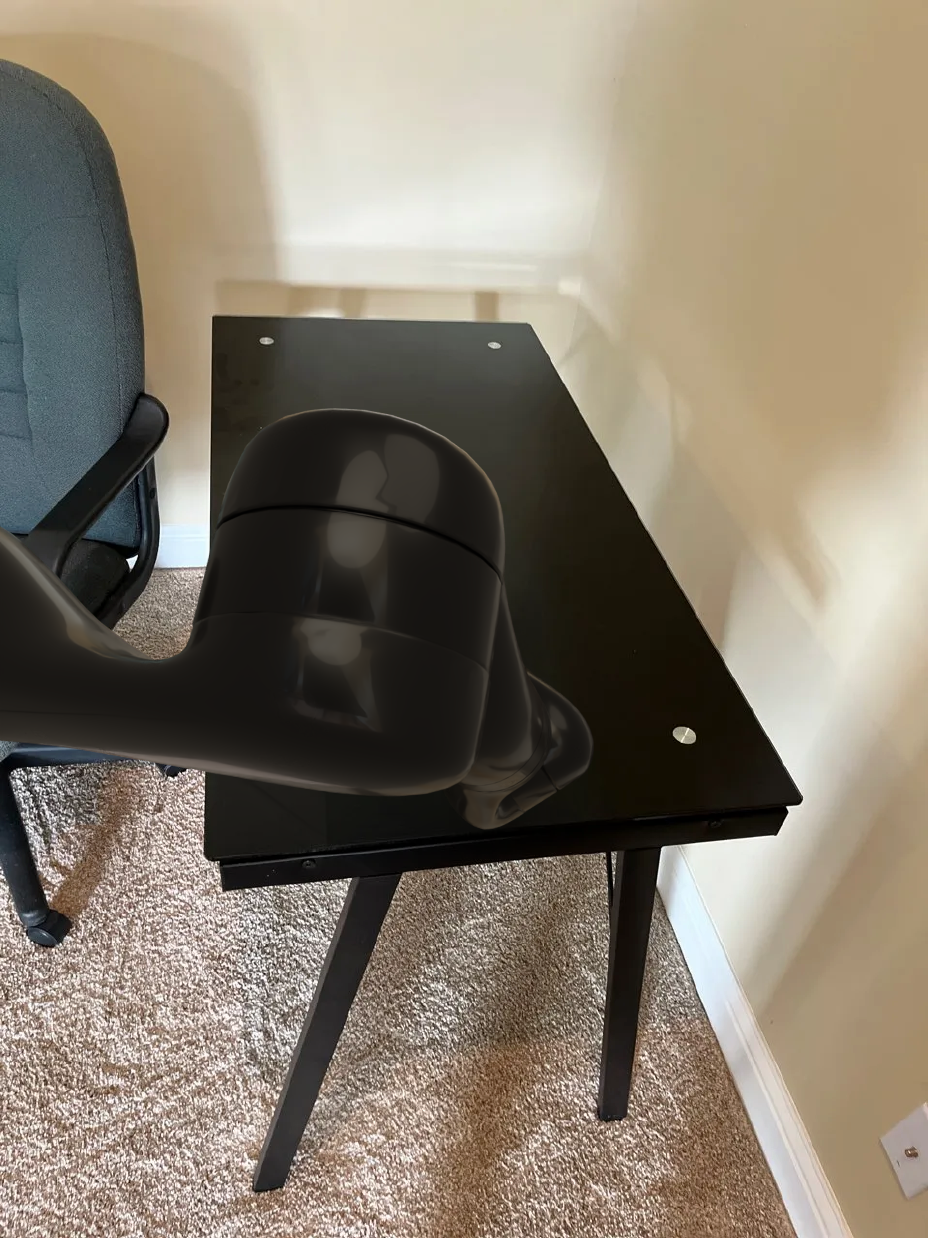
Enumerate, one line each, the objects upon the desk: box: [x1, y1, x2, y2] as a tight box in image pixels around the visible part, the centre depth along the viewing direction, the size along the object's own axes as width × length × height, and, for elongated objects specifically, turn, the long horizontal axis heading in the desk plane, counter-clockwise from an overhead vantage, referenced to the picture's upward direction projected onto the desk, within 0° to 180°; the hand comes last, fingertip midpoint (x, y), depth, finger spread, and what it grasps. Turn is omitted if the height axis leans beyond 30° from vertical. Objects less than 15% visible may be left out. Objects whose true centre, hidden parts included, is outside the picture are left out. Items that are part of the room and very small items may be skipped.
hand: (353, 485), depth 77 cm, fingers closed on lid, 2 cm apart
